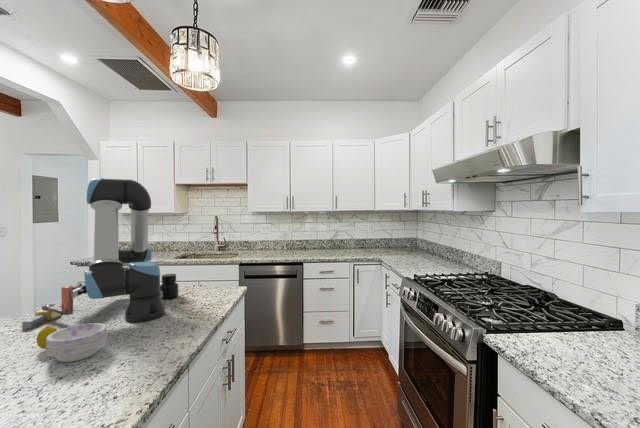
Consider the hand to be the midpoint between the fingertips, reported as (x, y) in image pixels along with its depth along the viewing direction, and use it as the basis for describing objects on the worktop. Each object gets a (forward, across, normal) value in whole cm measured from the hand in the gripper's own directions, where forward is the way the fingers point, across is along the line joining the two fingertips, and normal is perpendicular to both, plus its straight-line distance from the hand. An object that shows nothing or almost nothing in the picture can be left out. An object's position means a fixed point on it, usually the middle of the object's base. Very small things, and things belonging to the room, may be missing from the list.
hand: (71, 295), depth 124 cm
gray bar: (-8, +13, -12) cm, 19 cm away
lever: (-3, +7, -7) cm, 10 cm away
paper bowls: (+31, -19, -12) cm, 39 cm away
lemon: (+25, -7, -12) cm, 29 cm away
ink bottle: (-30, -29, -12) cm, 43 cm away
